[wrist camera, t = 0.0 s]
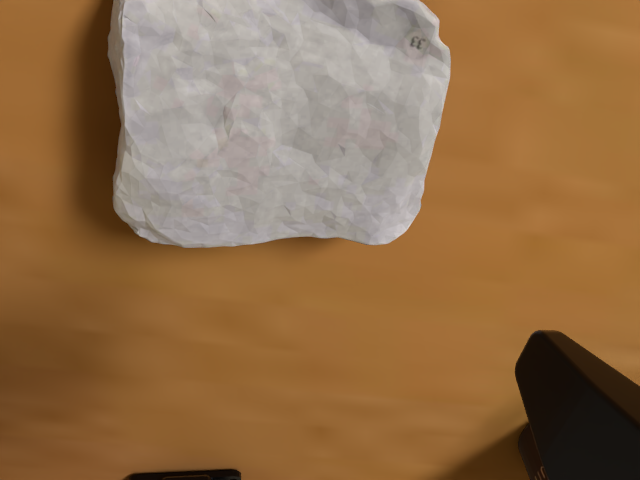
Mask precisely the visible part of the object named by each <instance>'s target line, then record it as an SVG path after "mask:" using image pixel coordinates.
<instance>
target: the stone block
mask: <svg viewBox="0 0 640 480" xmlns="http://www.w3.org/2000/svg"><path fill="white" fill-rule="evenodd" d="M110 25H111V30H110V33H109V35H108V58H109V61H110V64H111V68H112V72H113V75H114V79H115V84H116V90H115V93H116V96H117V101H118V106H119V116H120V119H121V130H120V135H119V141H118V150H117V155H118V156H117V159H116V170H115V173H114V176H113V193H114V195H113V207H114V210H115V211H116V213H117V214H118V215H119V217H120V218H121V219H122V220H123V221H124V222H126V223H128V224H129V226H130V227H131V228H132V229H133V230H134V232H135V233H136V234H137V235H139V236H140V237H143V238H146V239H147V240H149V241H150V242H154V243H160V244H171V245H177V246H181V247H183V248H197V247H205V248H209V247H219V246H239V245H248V244H257V243H264V242H268V241H272V240H277V239H283V238H291V237H306V236H311V237H317V238H335V237H339V238H342V239H346V240H351V241H355V242H359V243H362V244H366V245H380V244H388V243H390V242H391V241H393V240H395V239H396V238H398V237H399V236H400V235H402V234H403V233H404V232H405V231H406V230H407V229H408V228H409V226H410V225H411V223H412V222H413V220H414V218H415V217H416V215H417V213H418V212H419V211H420V208H421V202H420V200H421V197H422V194H423V192H424V179H425V176H426V173H427V168H428V164H429V161H430V158H431V155H432V150H433V146H434V142H435V138H436V135H437V132H438V130H439V128H440V122H441V116H442V110H443V106H444V102H445V97H446V92H447V88H448V84H449V80H450V62H451V59H450V50H449V48H448V47H447V46H446V45H444V44H443V43H442V41H441V40H440V38H439V36H438V35H439V19H438V18H437V16H436V15H435V14H433V13H432V12H431V11H430V10H429V8H428V7H427V6H426V5H425V4H423V3H422V2H420V1H419V0H113V7H112V15H111V24H110Z"/></svg>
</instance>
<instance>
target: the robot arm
mask: <svg viewBox="0 0 640 480" xmlns="http://www.w3.org/2000/svg"><path fill="white" fill-rule="evenodd" d="M515 376H516V381H517V384H518V387H519V391H520V394H521V397H522V400H523V404H524V407H525V410H526V414H527V417H528V420H529V424H530V427H531V430H532V434H533V437H534V440H535V444H536V447H537V450H538V453H539V456H540V459H541V462H542V464H543V467H544V470H545V472H546V475H547V477H548V480H640V386H638V385H637V384H635V383H634V382H633V381H631V380H630V379H628V378H627V377H625V376H624V375H622V374H621V373H620V372H618V371H617V370H615V369H614V368H612V367H611V366H609V365H608V364H606V363H605V362H604V361H602V360H601V359H599V358H598V357H596V356H595V355H593V354H592V353H591V352H589V351H588V350H586V349H585V348H583V347H582V346H580V345H579V344H578V343H576V342H575V341H573V340H572V339H570V338H569V337H567V336H566V335H564V334H563V333H561V332H559V331H555V330H538V331H535V332H534V333H533V334H532V335H531V336H530V338H529V340H528V341H527V343H526V345H525V347H524V349H523V351H522V353H521V355H520V357H519V359H518V360H517V363H516V366H515ZM128 480H241V473H240V472H239V471H237V470H227V471H206V472H184V473H163V474H142V475H133V476H131V477H130V478H129V479H128Z"/></svg>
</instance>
